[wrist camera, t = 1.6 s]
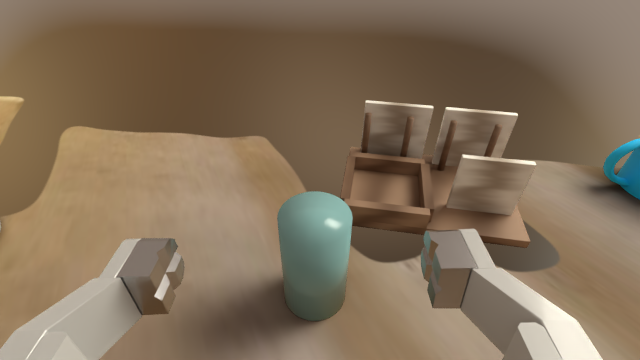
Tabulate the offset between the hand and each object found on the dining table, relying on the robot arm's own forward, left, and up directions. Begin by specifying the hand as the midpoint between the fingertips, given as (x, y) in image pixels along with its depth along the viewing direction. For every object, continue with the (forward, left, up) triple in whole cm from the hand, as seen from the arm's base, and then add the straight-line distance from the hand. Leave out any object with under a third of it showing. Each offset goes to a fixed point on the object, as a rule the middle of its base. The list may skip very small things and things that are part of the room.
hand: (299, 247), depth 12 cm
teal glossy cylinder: (-1, +11, -20) cm, 23 cm away
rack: (+10, +27, -20) cm, 35 cm away
